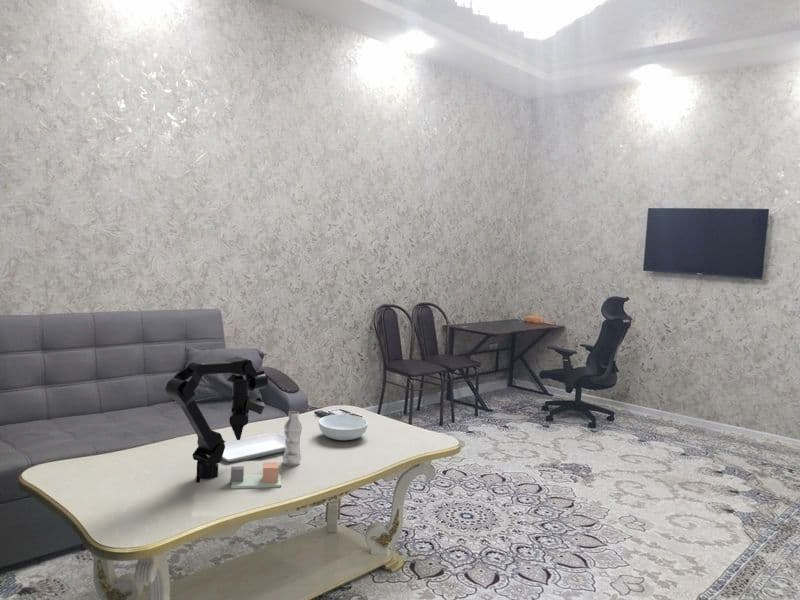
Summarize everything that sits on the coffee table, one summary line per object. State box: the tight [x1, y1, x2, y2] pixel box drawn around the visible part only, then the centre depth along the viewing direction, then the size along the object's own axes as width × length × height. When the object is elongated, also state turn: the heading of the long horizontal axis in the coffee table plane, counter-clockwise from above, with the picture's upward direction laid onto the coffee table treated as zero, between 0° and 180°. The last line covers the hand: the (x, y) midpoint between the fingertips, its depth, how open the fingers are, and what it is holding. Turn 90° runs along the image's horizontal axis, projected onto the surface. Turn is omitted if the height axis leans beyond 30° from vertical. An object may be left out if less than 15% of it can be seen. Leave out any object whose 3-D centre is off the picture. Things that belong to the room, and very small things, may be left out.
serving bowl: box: [318, 414, 369, 441], centre depth 259 cm, size 21×21×7 cm
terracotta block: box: [262, 461, 280, 483], centre depth 205 cm, size 5×5×5 cm
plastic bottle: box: [282, 410, 303, 467], centre depth 222 cm, size 6×7×20 cm
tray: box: [222, 432, 285, 463], centre depth 235 cm, size 17×31×4 cm, turn 133°
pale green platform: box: [230, 465, 282, 490], centre depth 204 cm, size 16×9×5 cm, turn 103°
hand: (239, 435), depth 217 cm, fingers open, 9 cm apart
